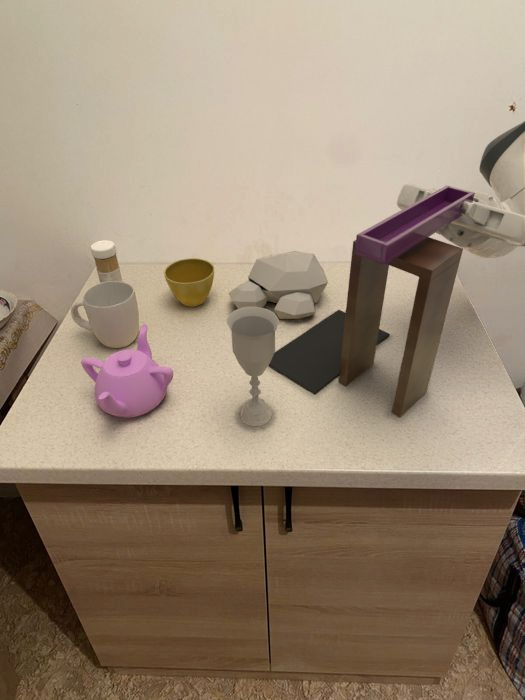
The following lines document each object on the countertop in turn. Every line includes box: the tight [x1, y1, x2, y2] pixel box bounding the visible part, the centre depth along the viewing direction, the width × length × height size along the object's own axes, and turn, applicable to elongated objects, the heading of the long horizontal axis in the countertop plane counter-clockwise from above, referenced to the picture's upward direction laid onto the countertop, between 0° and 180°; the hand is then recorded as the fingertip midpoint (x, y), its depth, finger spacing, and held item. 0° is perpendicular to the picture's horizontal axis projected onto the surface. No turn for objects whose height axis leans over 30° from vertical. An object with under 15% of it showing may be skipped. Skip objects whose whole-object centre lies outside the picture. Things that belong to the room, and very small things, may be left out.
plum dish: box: [355, 184, 475, 265], centre depth 67 cm, size 22×4×3 cm, turn 135°
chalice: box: [226, 307, 280, 427], centre depth 74 cm, size 7×7×18 cm
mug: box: [70, 281, 140, 349], centre depth 93 cm, size 13×9×10 cm
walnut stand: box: [338, 236, 464, 418], centre depth 76 cm, size 8×12×26 cm, turn 46°
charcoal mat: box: [268, 309, 391, 395], centre depth 92 cm, size 22×12×1 cm, turn 136°
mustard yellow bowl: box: [163, 257, 215, 308], centre depth 103 cm, size 10×10×7 cm
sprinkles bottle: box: [90, 239, 124, 283], centre depth 101 cm, size 5×5×14 cm
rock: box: [228, 250, 329, 320], centre depth 102 cm, size 18×20×10 cm
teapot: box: [80, 323, 174, 419], centre depth 80 cm, size 12×14×9 cm
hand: (446, 202), depth 71 cm, fingers closed on plum dish, 4 cm apart
